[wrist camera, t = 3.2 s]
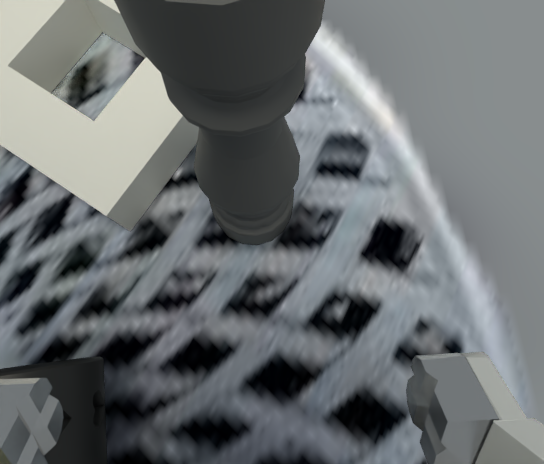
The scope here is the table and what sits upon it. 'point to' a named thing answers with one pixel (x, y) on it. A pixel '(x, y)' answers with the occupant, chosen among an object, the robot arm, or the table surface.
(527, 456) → the robot arm
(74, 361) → the muzzle brake
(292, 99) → the candle holder
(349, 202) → the table surface
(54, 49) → the socket block
